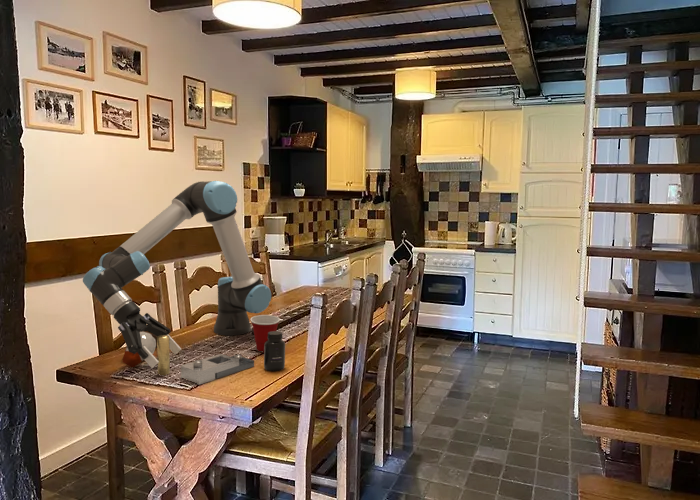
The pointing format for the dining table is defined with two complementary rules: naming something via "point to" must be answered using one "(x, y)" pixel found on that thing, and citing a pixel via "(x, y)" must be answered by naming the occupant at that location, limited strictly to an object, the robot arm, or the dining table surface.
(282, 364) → the supplement bottle
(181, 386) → the dining table surface
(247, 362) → the lower chain end
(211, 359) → the grey socket block
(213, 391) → the dining table surface
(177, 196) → the robot arm
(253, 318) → the plastic cup
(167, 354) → the brass pin
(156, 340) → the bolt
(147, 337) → the potion bottle
